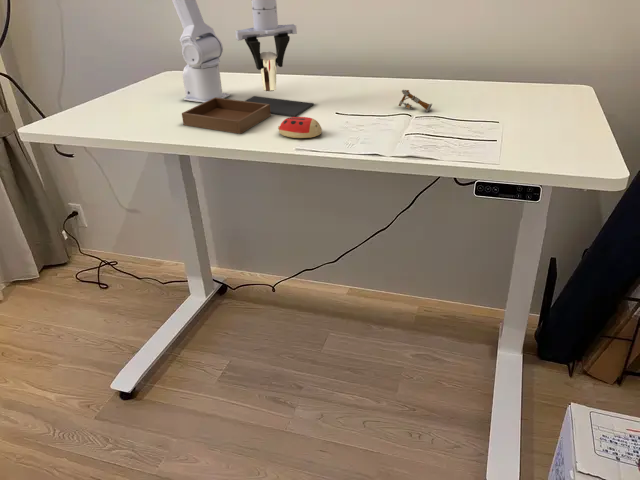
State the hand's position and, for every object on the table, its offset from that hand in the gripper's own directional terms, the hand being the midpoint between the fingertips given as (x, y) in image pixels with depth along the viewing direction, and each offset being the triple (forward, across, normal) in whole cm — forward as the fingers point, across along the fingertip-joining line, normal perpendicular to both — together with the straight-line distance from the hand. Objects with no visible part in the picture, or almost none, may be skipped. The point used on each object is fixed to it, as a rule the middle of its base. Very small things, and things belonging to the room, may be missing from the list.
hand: (269, 67), depth 137 cm
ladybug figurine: (+10, 0, -22) cm, 24 cm away
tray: (+10, -13, -5) cm, 17 cm away
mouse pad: (+10, 0, 0) cm, 10 cm away
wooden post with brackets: (+10, +30, -19) cm, 37 cm away
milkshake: (+6, 0, 0) cm, 6 cm away
